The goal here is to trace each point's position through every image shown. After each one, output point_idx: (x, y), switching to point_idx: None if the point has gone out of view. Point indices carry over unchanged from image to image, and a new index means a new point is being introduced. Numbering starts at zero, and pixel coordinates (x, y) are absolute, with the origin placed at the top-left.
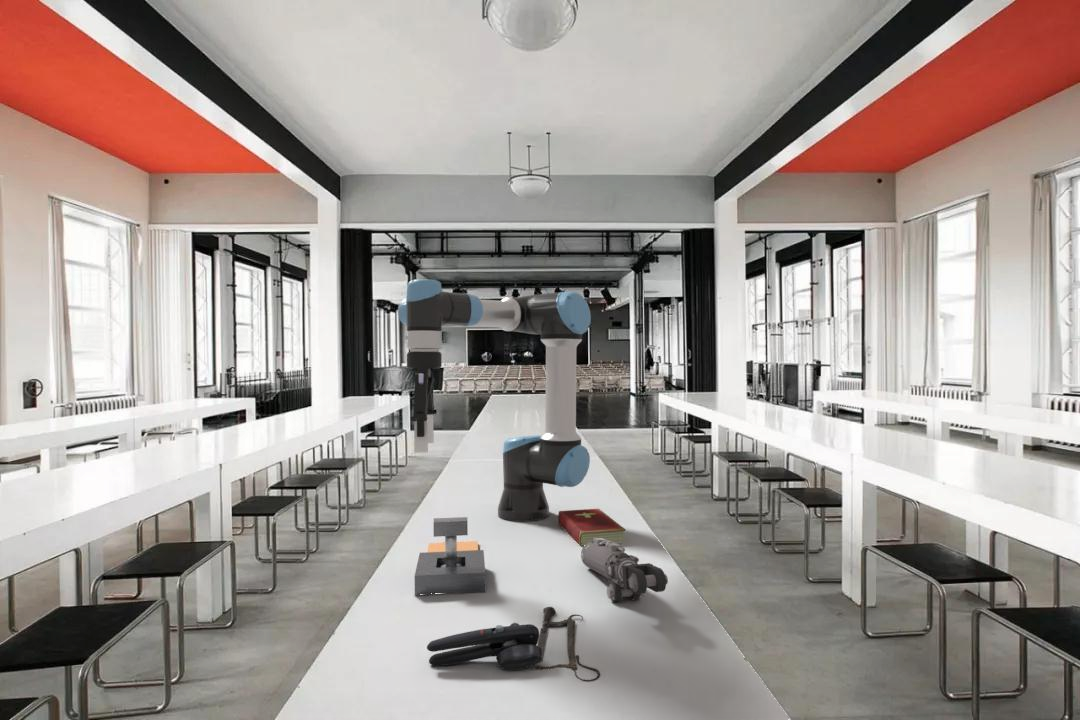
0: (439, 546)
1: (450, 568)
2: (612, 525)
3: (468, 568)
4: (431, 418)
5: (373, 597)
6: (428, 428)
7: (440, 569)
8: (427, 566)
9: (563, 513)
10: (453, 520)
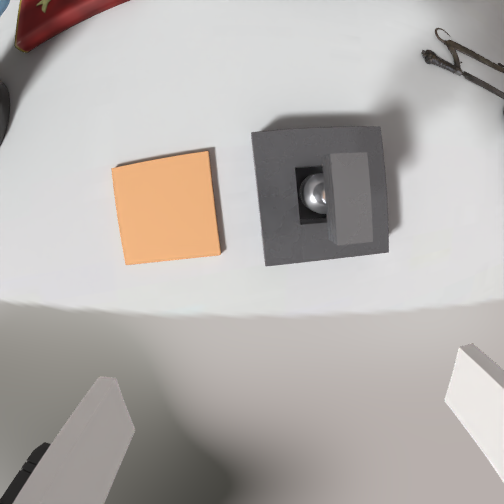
0: (144, 241)
1: None
2: None
3: None
4: (51, 500)
5: (372, 305)
6: (91, 461)
7: None
8: None
9: (27, 34)
10: (360, 190)
